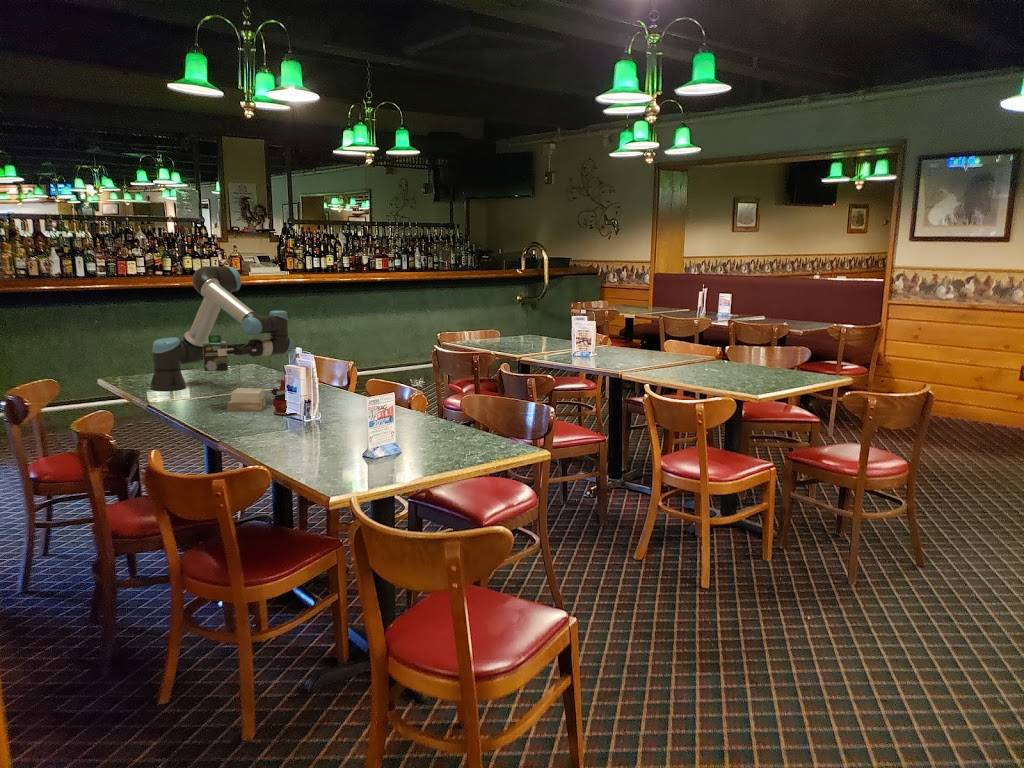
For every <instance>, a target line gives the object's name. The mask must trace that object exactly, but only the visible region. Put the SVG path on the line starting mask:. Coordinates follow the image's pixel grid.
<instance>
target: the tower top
mask: <svg viewBox="0 0 1024 768" xmlns="http://www.w3.org/2000/svg"><path fill="white" fill-rule="evenodd" d="M264 392H265V391H264V388H261V387H260V388H257V387H256V388H253V387H252V388H251V387H247V388H246V387H237V388H236V389H234V390H233V391H232V392H231V393H230V400H231V402H246V403H259V402H260V401H261V400H262V399H263V398H264V397H265V396H264V394H265V393H264Z"/></svg>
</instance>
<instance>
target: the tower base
mask: <svg viewBox="0 0 1024 768" xmlns="http://www.w3.org/2000/svg"><path fill="white" fill-rule="evenodd" d="M226 405H227V408H226V409H227V412H261V411H262V410H263V409H264V408H265V407H266V406H267V398H266V397H265V396H264V398H263V399H262V400H261V401H260V402H259V403H246V402H231V399H230V400H229V401H228V402H227V403H226Z"/></svg>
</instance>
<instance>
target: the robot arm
mask: <svg viewBox="0 0 1024 768" xmlns="http://www.w3.org/2000/svg"><path fill="white" fill-rule="evenodd" d="M192 285H193V287H194V289H195V290H196V291H197V292H198V294H200V295H201V296H202V297H203V299H202V302H201V304H200V306H199V308H198V311H197V312H196V315H195V318H194V320H193V322H192V325H191V327H190V329H189V331H186V332H185V333H184V334H183V337H182V339H180V338H178V337H174V336H173V337H172V336H171V337H164V338H158V339H156V340H154V342H153V343H152V349H151V351H152V359H153V361H152V362H153V374H152V377H151V381H150V385H149V387H150V390H152V391H156V392H157V391H158V392H160V391H161V392H168V391H169V392H170V391H171V392H172V391H180V390H184V389H186V384H187V383H186V380H185V378H184V375H183V373H182V366H181V365H186V364H187V365H188V364H197V363H201V362H204V355H203V343H204V342H209V335H211V334H210V333H211V331H212V330H213V327H214V325H215V323H216V321H217V319H218V316H219V313H220V311H221V309H222V310H223V311H225V312H226V313H227V314H228V315H230V317H232V318H233V319H234V320H236V321H237V322H238V323H240V325H241V329H242V331H243V333H244V334H246V335H249V336H251V335H252V336H257V335H265V334H270V335H269V336H270V338H269V337H266V338H254V339H249V340H248V342H247V343H236V344H235V343H234V344H233V343H231V344H227V349H218V356H226V355H227V356H243V355H248V354H249V355H250V357H252V358H253V357H254V358H255V357H265V358H266V357H268V356H275V355H286V354H291V353H292V352H293V351H294V349H295V342H294V339H293V338H292V337H291V336H289V324H288V323H289V317H288V312H287V311H285V310H271V311H269V315H265V316H261V315H259V314H257V313H256V312H255V311H253V310H252V309H251V308H250V307H248V306H247V305H246V304H244V302H242V301H241V300H239V299H238V298H237V297H236V296H234V294H232V293H234V292H237V291H239V290H240V289H241V286H242V277H241V274H240V273H239V271H238V270H237V269H236V268H235V267H232V266H227V265H223V266H210V265H208V266H202V267H199V268H197V270H195V271H194V273H193V275H192ZM292 350H293V351H292ZM291 351H292V352H291Z"/></svg>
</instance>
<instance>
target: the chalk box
mask: <svg viewBox="0 0 1024 768" xmlns="http://www.w3.org/2000/svg"><path fill="white" fill-rule="evenodd" d="M213 338H217V339H216V340H214V339H213ZM208 340H209V342H204V343H203V355H204V361H203V368H204V372H226V371H227V372H228V371H229V362H228V361H229V360H228V355H226V356H218V349H227V345H228V343H227V341H226V340H222V336H221V334H209V336H208Z"/></svg>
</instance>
